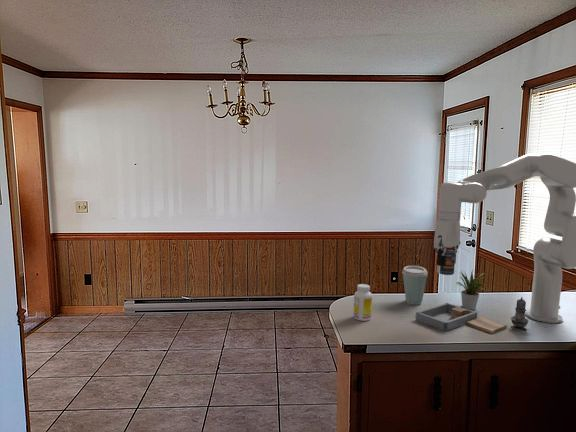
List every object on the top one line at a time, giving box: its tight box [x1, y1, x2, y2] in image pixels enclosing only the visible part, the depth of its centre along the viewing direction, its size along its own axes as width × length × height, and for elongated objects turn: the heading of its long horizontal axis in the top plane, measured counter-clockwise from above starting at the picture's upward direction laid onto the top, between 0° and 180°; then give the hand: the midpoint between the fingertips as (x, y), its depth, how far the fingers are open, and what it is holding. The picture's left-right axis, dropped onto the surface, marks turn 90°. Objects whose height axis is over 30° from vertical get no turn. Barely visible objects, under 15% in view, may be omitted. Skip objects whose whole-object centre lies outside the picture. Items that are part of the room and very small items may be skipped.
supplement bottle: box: [353, 283, 373, 322], centre depth 162 cm, size 7×7×13 cm
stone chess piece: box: [510, 296, 530, 332], centre depth 156 cm, size 6×6×12 cm
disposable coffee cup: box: [401, 265, 429, 306], centre depth 182 cm, size 11×11×15 cm
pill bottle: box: [436, 245, 457, 276], centre depth 158 cm, size 6×6×11 cm
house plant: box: [454, 268, 486, 310], centre depth 177 cm, size 14×14×16 cm
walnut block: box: [450, 306, 467, 320], centre depth 165 cm, size 4×4×4 cm
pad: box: [465, 316, 508, 335], centre depth 158 cm, size 10×10×1 cm
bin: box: [415, 302, 478, 332], centre depth 163 cm, size 20×13×3 cm, turn 126°
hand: (446, 263), depth 159 cm, fingers closed on pill bottle, 6 cm apart
